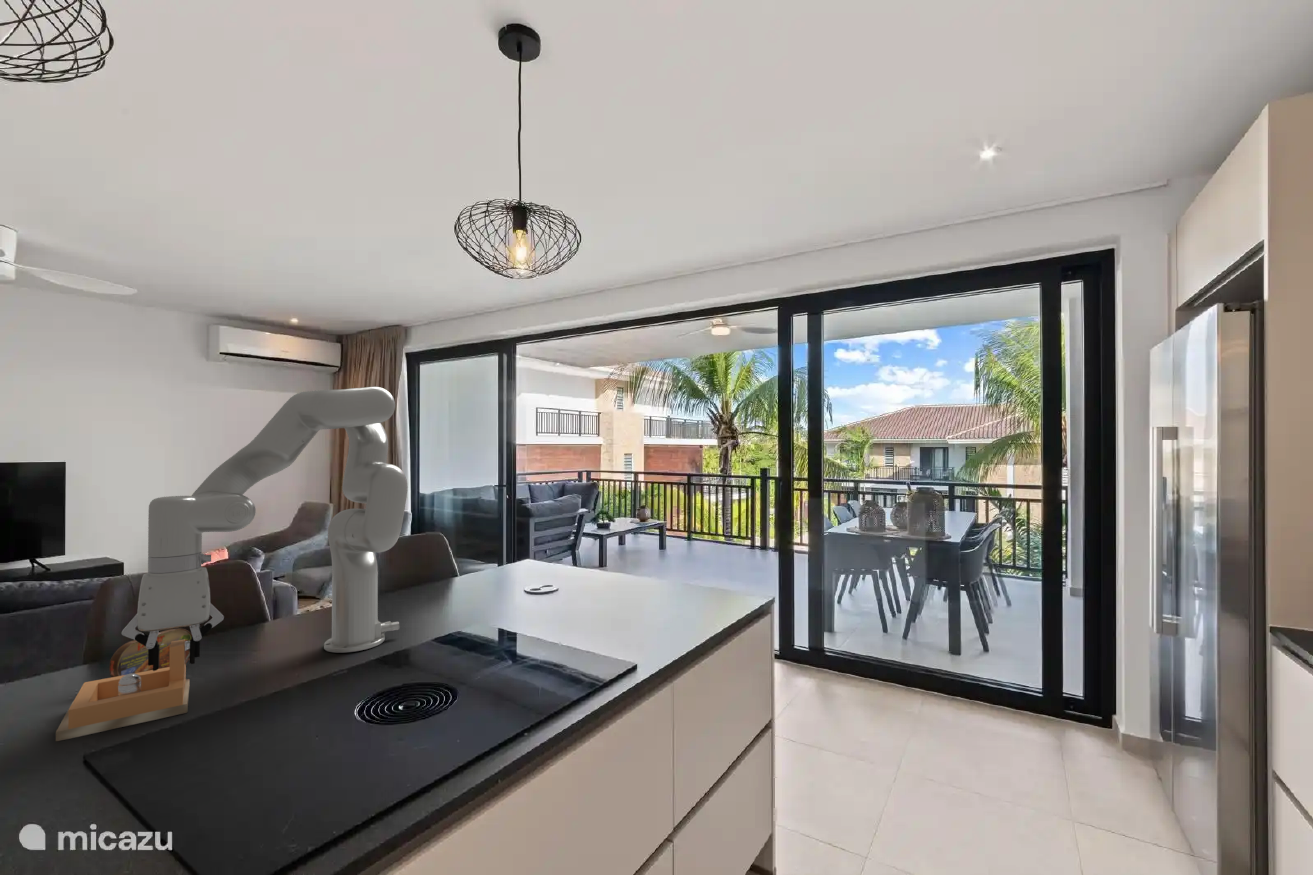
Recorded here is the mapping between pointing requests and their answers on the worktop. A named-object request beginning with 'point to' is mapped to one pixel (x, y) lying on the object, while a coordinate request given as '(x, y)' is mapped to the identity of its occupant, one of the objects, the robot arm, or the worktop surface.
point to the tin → (136, 655)
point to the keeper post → (129, 684)
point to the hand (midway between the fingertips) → (174, 664)
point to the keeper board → (121, 719)
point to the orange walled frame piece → (96, 710)
